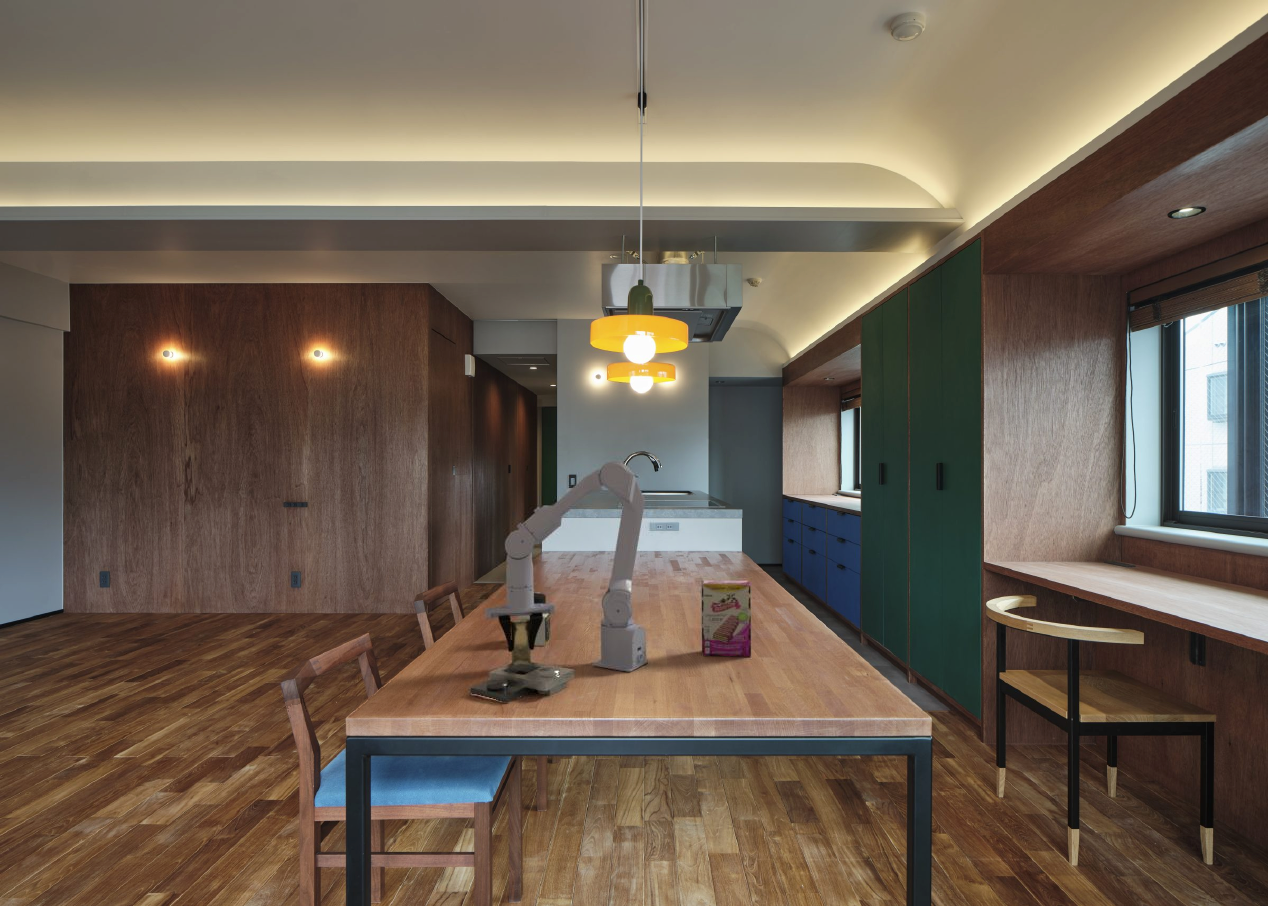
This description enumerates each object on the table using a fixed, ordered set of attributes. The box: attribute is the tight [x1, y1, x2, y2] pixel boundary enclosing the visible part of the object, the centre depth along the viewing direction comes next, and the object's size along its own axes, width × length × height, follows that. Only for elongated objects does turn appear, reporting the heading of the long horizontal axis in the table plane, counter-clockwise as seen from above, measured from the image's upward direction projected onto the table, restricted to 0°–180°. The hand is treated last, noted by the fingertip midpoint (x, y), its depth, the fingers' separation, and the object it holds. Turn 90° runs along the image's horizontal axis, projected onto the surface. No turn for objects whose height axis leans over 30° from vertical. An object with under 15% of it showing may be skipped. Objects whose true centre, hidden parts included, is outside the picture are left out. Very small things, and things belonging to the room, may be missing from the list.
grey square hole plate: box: [488, 660, 575, 696], centre depth 126 cm, size 14×9×4 cm, turn 60°
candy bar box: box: [701, 579, 752, 658], centre depth 146 cm, size 11×5×16 cm, turn 84°
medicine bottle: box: [516, 592, 551, 647], centre depth 159 cm, size 7×7×12 cm
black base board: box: [470, 671, 536, 704], centre depth 125 cm, size 14×9×2 cm, turn 150°
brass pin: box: [511, 618, 532, 663], centre depth 138 cm, size 4×4×9 cm
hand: (521, 649), depth 138 cm, fingers closed on brass pin, 4 cm apart
